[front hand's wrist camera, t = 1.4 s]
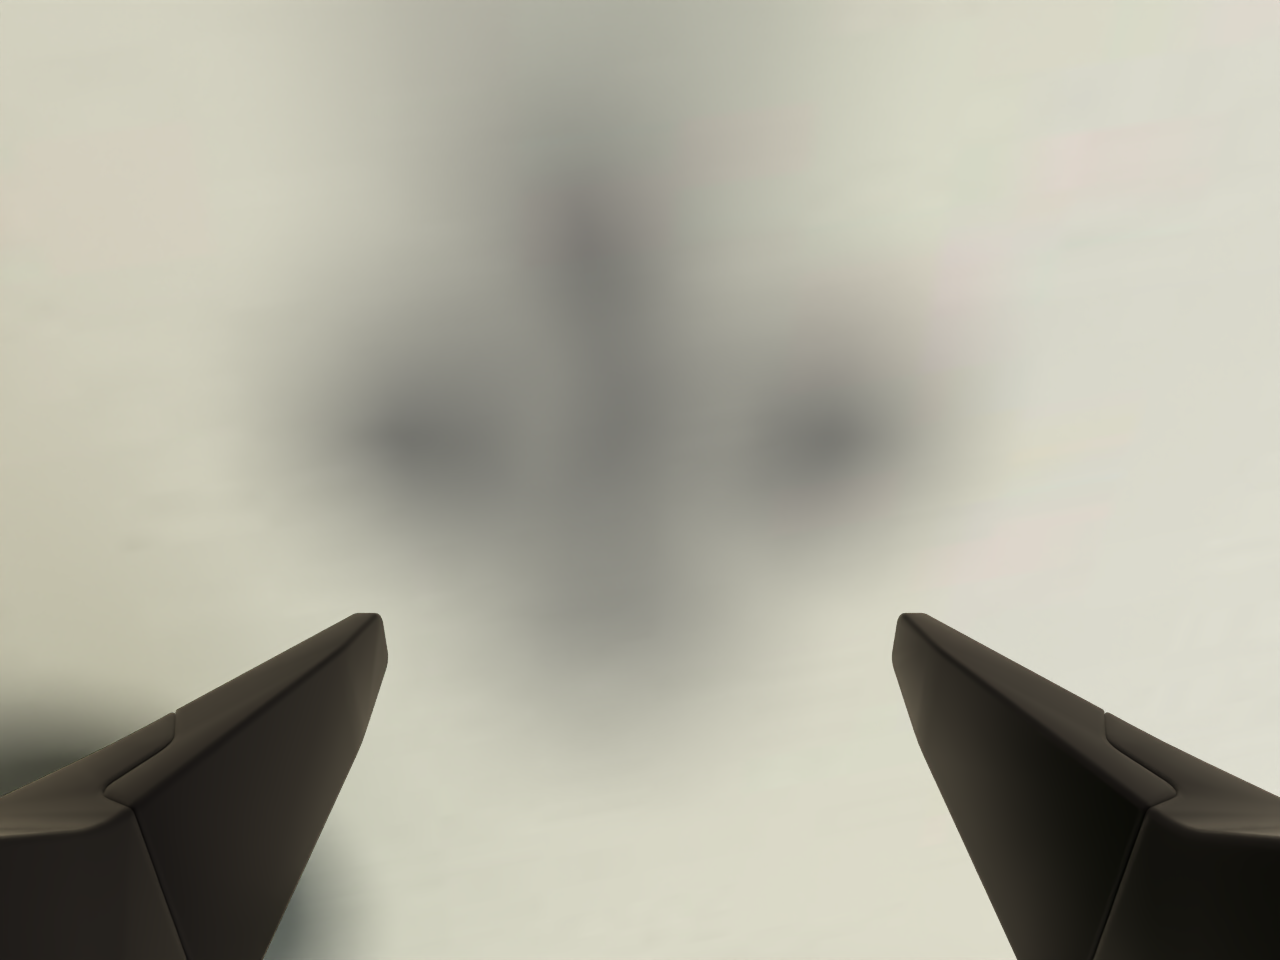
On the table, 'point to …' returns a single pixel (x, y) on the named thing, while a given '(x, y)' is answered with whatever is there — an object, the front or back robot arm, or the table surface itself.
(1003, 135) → the table surface
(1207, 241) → the table surface
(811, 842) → the table surface
